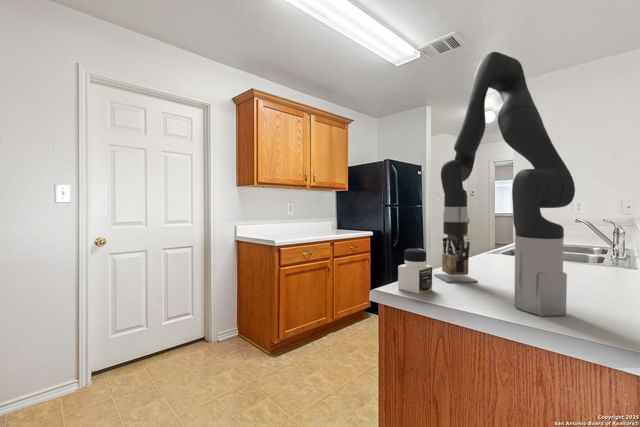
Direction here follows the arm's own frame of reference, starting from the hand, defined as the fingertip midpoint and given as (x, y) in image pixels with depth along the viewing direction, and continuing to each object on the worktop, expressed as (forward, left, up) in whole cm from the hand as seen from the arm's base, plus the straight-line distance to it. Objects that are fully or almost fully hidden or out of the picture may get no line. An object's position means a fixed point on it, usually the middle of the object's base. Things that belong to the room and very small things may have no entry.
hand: (455, 270), depth 101 cm
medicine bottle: (-12, +18, -3) cm, 22 cm away
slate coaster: (0, 0, -3) cm, 3 cm away
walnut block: (0, 0, -1) cm, 1 cm away
